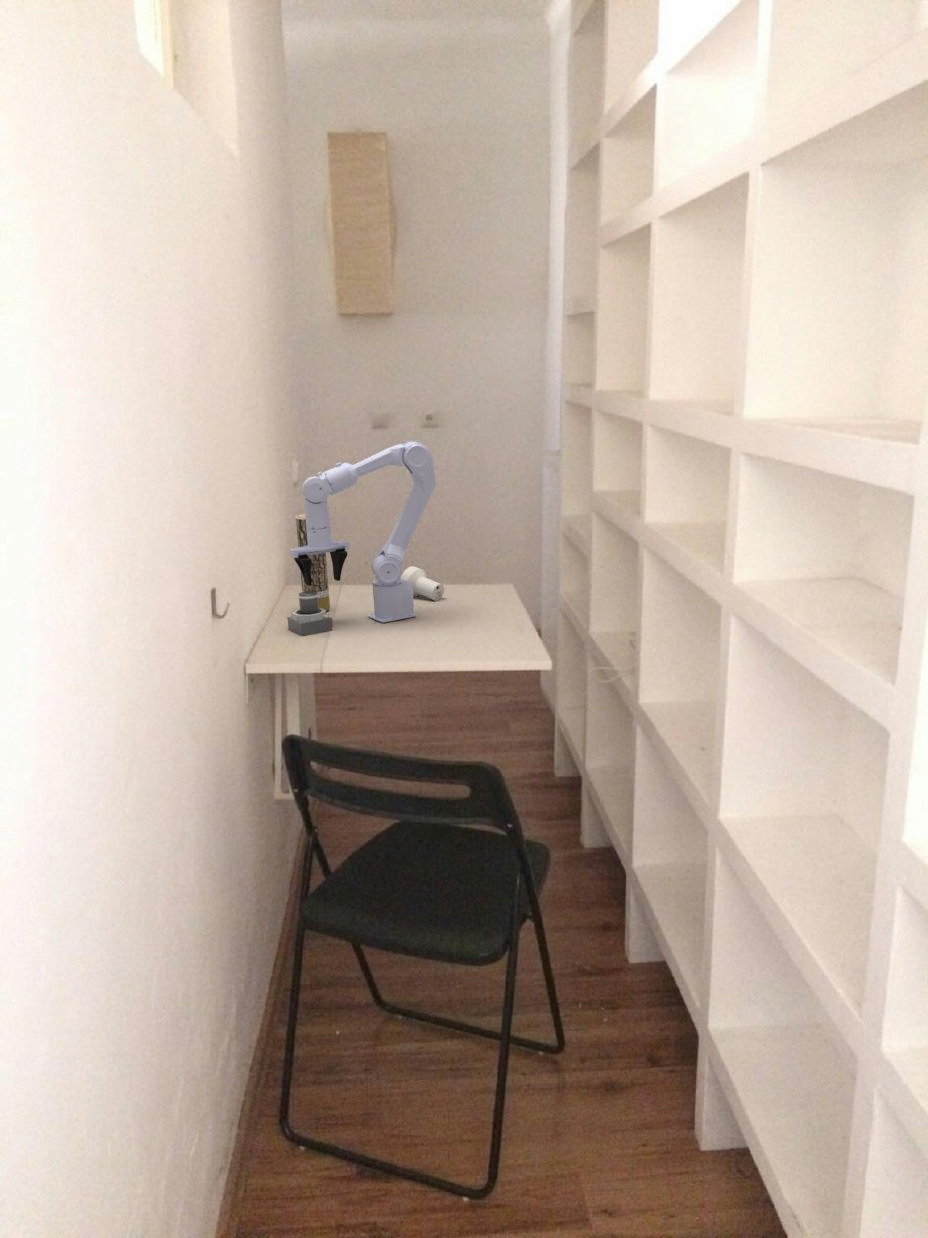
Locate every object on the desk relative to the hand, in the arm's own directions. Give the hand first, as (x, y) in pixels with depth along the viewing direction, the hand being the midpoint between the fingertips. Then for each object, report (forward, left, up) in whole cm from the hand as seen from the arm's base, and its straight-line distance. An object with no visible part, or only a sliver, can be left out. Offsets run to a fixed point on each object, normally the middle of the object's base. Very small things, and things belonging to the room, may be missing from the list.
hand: (323, 582), depth 236 cm
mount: (+5, +3, -10) cm, 12 cm away
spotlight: (-32, -8, -11) cm, 34 cm away
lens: (+5, +3, -7) cm, 10 cm away
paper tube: (-4, -13, -11) cm, 17 cm away
